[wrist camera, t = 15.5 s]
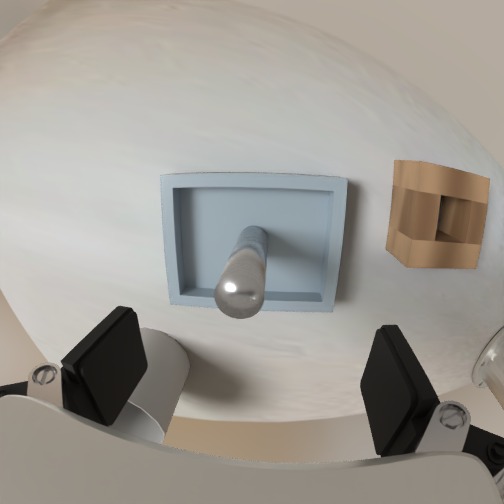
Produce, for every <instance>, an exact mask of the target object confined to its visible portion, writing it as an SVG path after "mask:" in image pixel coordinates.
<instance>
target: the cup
mask: <svg viewBox="0 0 504 504" xmlns="http://www.w3.org/2000/svg"><path fill="white" fill-rule="evenodd" d="M140 332H141V337H142V341H143V346H144V350H145V354H146V358H147V362H148V368H147V371H146V372H145V374H144V376H143V377H142V379H141V380H140V382H139V383H138V385H137V387H136V388H135V390H134V391H133V393H132V395H131V396H130V398H129V399H128V401H127V403H126V404H125V406H124V407H123V409H122V411H121V412H120V414H119V415H118V417H117V419H116V420H115V422H114V423H113V425H111V426H108V427H109V428H112V429H114V430H117V431H120V432H123V433H126V434H129V435H132V436H135V437H138V438H141V439H144V440H148V441H151V442H155V443H158V444H159V443H162V442H163V441H164V438H165V435H166V432H167V430H168V427H169V424H170V421H171V419H172V416H173V413H174V410H175V408H176V405H177V402H178V400H179V397H180V394H181V392H182V389H183V386H184V384H185V381H186V378H187V376H188V372H189V369H190V366H191V365H190V362H189V359H188V355H187V352H186V351H185V350H184V349H183V348H182V347H181V346H180V344H179V343H178V342H177V341H176V340H175V339H173V338H171V337H170V336H168V335H166V334H165V333H163V332H161V331H157V330H153V329H148V328H141V329H140Z"/></svg>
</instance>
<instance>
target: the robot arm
mask: <svg viewBox="0 0 504 504" xmlns="http://www.w3.org/2000/svg"><path fill="white" fill-rule="evenodd" d="M61 363H62V365H63V367H62V368H61V369H60V368H59V366H58V365H56V364H54V363H43V364H40V365H38V366H36V367H35V368H34V369H33V370H32V371H31V372H30V374H29V380H28V381H25V382H20V383H15V384H10V385H4V386H0V504H504V438H503V437H500V436H498V435H495V434H493V433H490V432H488V431H485V430H483V429H480V428H478V427H475V426H473V425H471V424H470V421H471V417H470V413H469V411H468V410H467V408H466V407H464V405H462V404H460V403H458V402H455V401H445V402H442V403H440V401H439V399H438V396H437V394H436V392H435V390H434V389H433V387H432V385H431V383H430V381H429V379H428V377H427V375H426V374H425V372H424V370H423V368H422V366H421V365H420V363H419V361H418V359H417V357H416V356H415V354H414V352H413V351H412V349H411V347H410V345H409V344H408V342H407V340H406V339H405V337H404V335H403V334H402V332H401V330H400V329H399V327H398V326H397V325H383V326H382V327H381V329H377V331H376V334H375V338H374V341H373V345H372V348H371V351H370V355H369V358H368V361H367V364H366V367H365V370H364V373H363V376H362V379H361V383H360V388H361V392H362V396H363V400H364V404H365V408H366V412H367V416H368V420H369V424H370V428H371V433H372V437H373V441H374V446H375V450H376V454H377V455H381V458H374V459H366V460H357V461H343V462H326V463H279V462H263V461H251V460H241V459H233V458H226V457H219V456H213V455H206V454H201V453H196V452H191V451H186V450H182V449H178V448H174V447H169V446H166V445H162V444H158V443H155V442H151V441H148V440H144V439H141V438H138V437H135V436H132V435H129V434H126V433H123V432H120V431H117V430H114V429H112V428H109V427H108V426H111V425H113V423H114V422H115V420H116V419H117V417H118V415H119V414H120V412H121V411H122V409H123V407H124V406H125V404H126V403H127V401H128V399H129V398H130V396H131V395H132V393H133V391H134V390H135V388H136V387H137V385H138V383H139V382H140V380H141V379H142V377H143V376H144V374H145V372H146V371H147V368H148V362H147V358H146V354H145V350H144V346H143V341H142V337H141V332H140V328H139V323H138V318H137V314H136V312H134V311H133V309H132V308H130V307H123V306H118V307H116V308H115V309H114V310H113V311H112V312H111V313H110V314H109V315H108V316H107V317H106V318H105V319H103V320H102V321H101V322H100V323H99V324H98V325H97V326H96V327H95V328H94V329H93V330H92V331H91V332H90V333H89V334H88V335H87V336H86V337H85V338H84V339H82V340H81V341H80V342H79V343H78V344H77V345H76V346H75V347H74V348H73V349H72V350H71V351H70V352H69V353H68V354H67V355H66V356H65V357H64V358H63V359H62V360H61ZM472 379H473V382H474V384H475V385H476V387H478V388H484V387H487V386H488V387H489V389H490V390H491V392H492V393H493V394H494V396H495V397H496V399H497V400H498V402H499V403H500V405H501V406H502V408H503V410H504V328H502V329H501V330H500V331H499V332H498V333H497V334H496V335H495V336H494V338H493V339H492V340H491V341H490V342H489V344H488V345H487V346H486V348H485V349H484V351H483V352H482V354H481V355H480V357H479V359H478V361H477V363H476V365H475V368H474V371H473V376H472Z"/></svg>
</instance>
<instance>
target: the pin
mask: <svg viewBox="0 0 504 504" xmlns="http://www.w3.org/2000/svg"><path fill="white" fill-rule="evenodd" d="M267 253H268V235H267V233H266V232H265V230H264V229H262V228H261V227H259V226H248V227H246V228H244V229H243V230H242V231H241V233H240V235H239V237H238V239H237V242H236V244H235V246H234V248H233V250H232V253H231V255H230V257H229V259H228V261H227V263H226V266H225V268H224V270H223V272H222V274H221V277H220V279H219V281H218V283H217V286H216V288H215V291H214V299H215V302H216V305H217V306H218V308H219V309H220V310H221V311H222V312H223V313H224V314H226V315H228V316H230V317H232V318H237V319H244V318H249V317H252V316H254V315H255V314H257V313H258V312H259V311H260V309H261V308H262V306H263V303H264V295H265V282H266V267H267Z"/></svg>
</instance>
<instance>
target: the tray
mask: <svg viewBox="0 0 504 504" xmlns="http://www.w3.org/2000/svg"><path fill="white" fill-rule="evenodd" d="M160 181H161V207H162V225H163V239H164V251H165V262H166V272H167V281H168V289H169V298H170V304H171V305H182V306H194V307H207V308H218V306H217V305H216V302H215V299H214V291H215V288H216V286H217V283H218V281H219V279H220V277H221V274H222V272H223V270H224V268H225V266H226V263H227V261H228V259H229V257H230V255H231V253H232V250H233V248H234V246H235V244H236V242H237V239H238V237H239V235H240V233H241V231H242V230H243V229H244V228H246V227H248V226H259V227H261V228H262V229H264V230H265V232H266V233H267V235H268V253H267V267H266V282H265V295H264V303H263V306H262V308H261V309H260V311H285V312H333V307H334V301H335V295H336V288H337V281H338V274H339V267H340V259H341V251H342V242H343V233H344V222H345V211H346V197H347V181H348V179H346V178H342V177H334V176H321V175H305V174H285V173H250V172H212V173H177V174H166V175H160Z"/></svg>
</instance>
